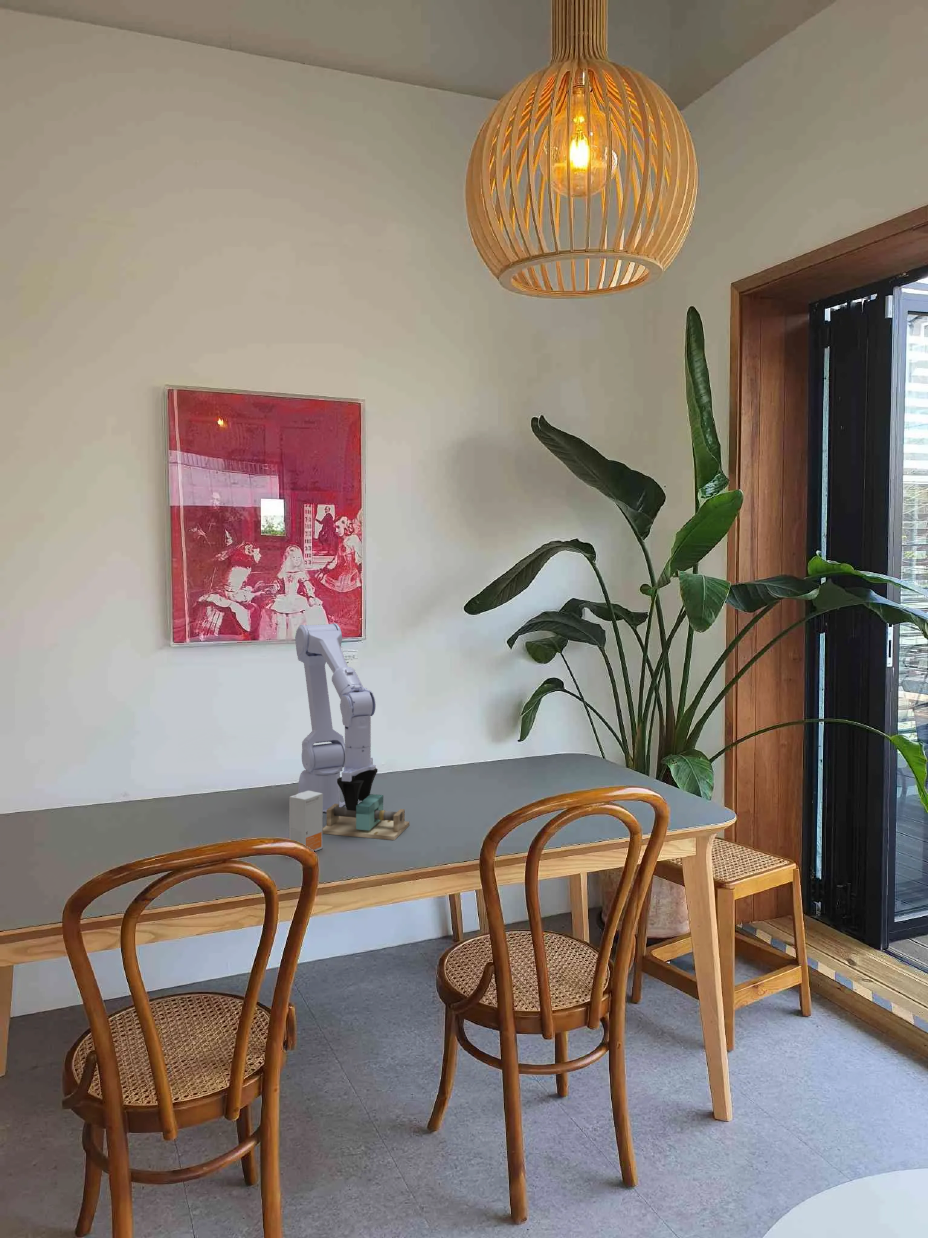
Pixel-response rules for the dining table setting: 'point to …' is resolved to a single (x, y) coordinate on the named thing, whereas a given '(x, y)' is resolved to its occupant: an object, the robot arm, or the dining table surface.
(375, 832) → the pipe jig
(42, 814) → the dining table surface
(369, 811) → the collar
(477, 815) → the dining table surface
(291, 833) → the skincare box
